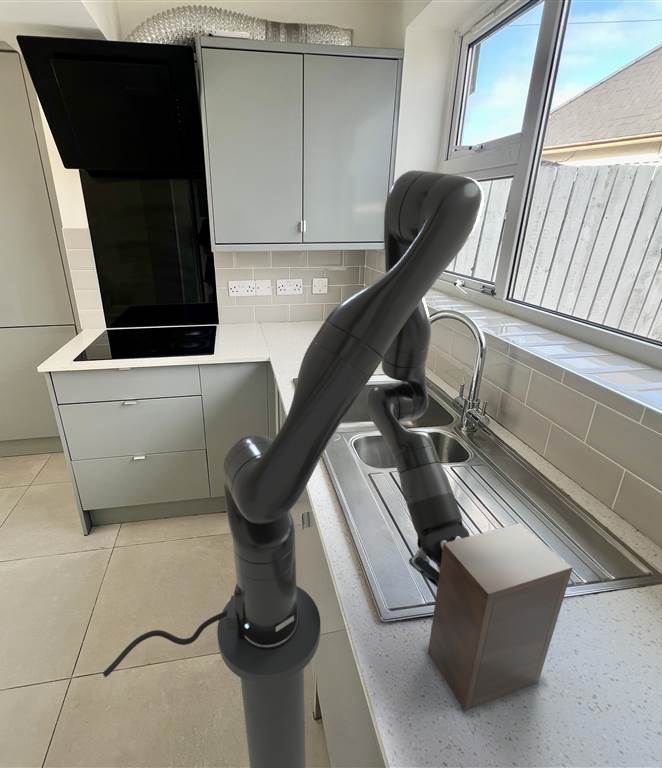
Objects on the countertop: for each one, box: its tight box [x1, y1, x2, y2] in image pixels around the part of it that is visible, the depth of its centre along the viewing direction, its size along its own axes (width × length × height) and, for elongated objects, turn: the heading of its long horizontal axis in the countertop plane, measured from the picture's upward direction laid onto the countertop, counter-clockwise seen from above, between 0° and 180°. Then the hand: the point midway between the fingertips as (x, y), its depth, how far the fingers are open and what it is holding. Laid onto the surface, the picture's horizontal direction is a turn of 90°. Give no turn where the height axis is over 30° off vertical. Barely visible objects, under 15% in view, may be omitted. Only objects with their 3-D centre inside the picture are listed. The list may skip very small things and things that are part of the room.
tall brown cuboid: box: [427, 522, 573, 712], centre depth 53 cm, size 8×12×20 cm
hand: (469, 615), depth 59 cm, fingers closed
